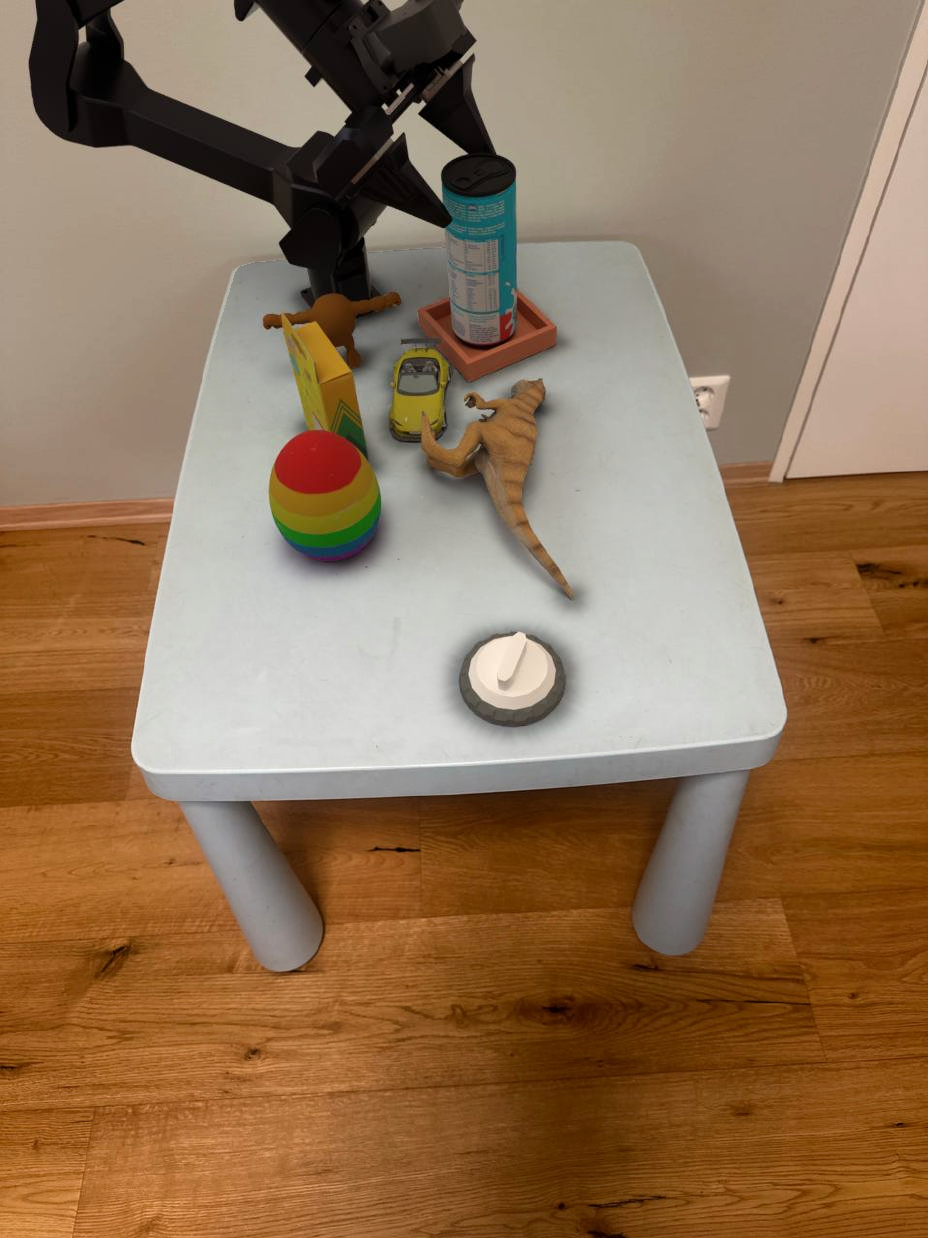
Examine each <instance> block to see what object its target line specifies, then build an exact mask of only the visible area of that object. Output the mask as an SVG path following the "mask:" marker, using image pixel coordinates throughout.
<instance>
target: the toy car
mask: <svg viewBox="0 0 928 1238" xmlns="http://www.w3.org/2000/svg"><path fill="white" fill-rule="evenodd" d="M417 344H420V345H421V344H425V347H414V348H411V349H407V350H406V351H405V349H404V350H403V351H404V353H403V355H402V356H401V357H400V358H399V359H398V360H397V361H396V362H395V363H394V364H393V369H392V370H393V373H392V379H393V381H391V382H390V386H391V387H392V388H394V389H393V390H394V391H393V402H392V405H391V407H390V410H389V413H388V414H389V415H388V426H389V428H392V430H390V432H391V435H392V436H393V437H394V438H395V439H396V440H398V441H400V442H402V441H403V442H404V441H405V442H422V411H425V412H426V414H427V416H428V418H429V421H430V424H431V427H432V428H433V430H434V432H435V440H437V439H438V438H440V437H441V436H442V435H443V433H444V429H442V428H445V427H447V424H448V423H447V422H448V419H447V412H446V409H445V406H444V400H445V399H444V398H445V389H446V386H447V384H448V382H450V381H451V379H452V371H451V365H450V364H449V362H448V361H447V360H446V359H445V358H444V357H443V355H441V353H440V352H439V351H438V349H435V348H432V347H431V348H430V347H428V345H427V344H434V345H435V344H440V345H441V338H428V337H415V338H414V337H413V338H400V346H402V345H417Z"/></svg>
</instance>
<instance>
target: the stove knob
mask: <svg viewBox="0 0 928 1238" xmlns="http://www.w3.org/2000/svg"><path fill="white" fill-rule="evenodd" d="M462 661H463V662H462V664H461V667H460V669H459V670H460V671H459V679H458V685H459V691H460V693H461V696H462V699H463V701H464V702H465V704H466V705H467V706H468V708H469V709H470V710H472V712H473V713H474V714H475V715H477V716H478V717H480V718H481V719H483V720H485V721H487V722H489V723H492V724H495V725H500V726H504V727H519V726H526V725H527V726H528V725H530V724H532V723H536V722H538V721H540V720H542V719H544V718H545V717H547V716H548V715H549V714H551V713H552V712H553V711H554V710H555V709H556V707H557V706H558V705H559V704H560V703H561V700H562V698H563V697H564V693H565V690H566V674H565V668H564V665H563V664H564V663H563V661H562V659H561V657H560V656H559V655H558V654H557V652H556V651H555V650H554V648H553V647H552V645H550V643H546V642H545V641H543V640H541V639H539V637H537V636H536V635H534V634H526V633H525V632H521V631H510V632H505V633H498V632H497V633H494V634H491V635H490V636H489V637H487V638H486V639H483V640H479V641H478V642H476V644H474V646H473V648H471V649H470V651H468V653H466V654H465V657H464V658H463V660H462Z"/></svg>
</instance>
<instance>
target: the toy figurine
mask: <svg viewBox="0 0 928 1238" xmlns="http://www.w3.org/2000/svg"><path fill="white" fill-rule="evenodd" d="M402 303H403V301H402V298H401V295H400V294H399V292H397V291H395V290H393V291H389V292H387V293H386V294H385V295H383V296H377V297H374V298H372V299H371V300H361V301H359V302H355V301H354V302H351V301H349V300H348V299H347V298H346V297H345V296H343V295H341V294H326V295H323V296H321V297H319V298H318V299H317V300H316V301H315V303H314V305H313V307H312V309H310V308H309V309H307V310H301V311H296V312H295V313H292V312H291V313H290V312H283V313H284V315H285V316H286V318H287V319H288V320H289V322H290V323H291V325H292V326H293V327H294V326H295V325H307V324H309V323H312V322H314V321H316V322H317V323H318V325H319V326H320V328H321V329H322V330H323V332H324V333H325V335H326V336H327V337H328V339H329V340H330V341H331V343H332V344H333V346H334V347H335V348H341V347H344V348H345V350H346V351H345V363H346V364H347V365H348V367H349V368H350V369H351V368H354V369H356V368H358V367H361V365H362V364H363V358H362V356H361V354H360V353H359V351H358V350H357V349H356V341H355V339H354V336H353V334H354V332H355V329H356V324H357V319H356V316H357V315H358V314H362V313H367V312H369V311H371V310H373V311H376V313H377V312H384V311H385V310H389V309H392V308H393V307H394V305H395V306H396V307H401V305H402ZM262 327H263V328H264V329H265V330H267V331H269V330H271V328H273V329H275V330H279V329H283V327H282V317H281V313H280V314H277V313H267V314H265V315H264V316H263V317H262Z"/></svg>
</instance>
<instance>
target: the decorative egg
mask: <svg viewBox="0 0 928 1238" xmlns="http://www.w3.org/2000/svg"><path fill="white" fill-rule="evenodd" d="M268 502H269V507H270V512H271V515H272V519H273V522H274V524H275V526H276V528H277V530H278V531H279V533H280V534H281V536H282V537H283V539H284V540H285V541H286V542H287V543H288V545H290V546H291V547H292V548H293V549H294V550H296V551H297V552H298V553H300V554H302V555H304V556H306V557H308V558H310V559H313V560H317V561H323V562H324V561H325V562H335V561H341V560H345V559H347V558H350V557H352V556H354V555H355V554H358V553H359V552H360V551H361V550H362V549H364V548H365V547H366V546H367V545H368V543H369V542H370V541H371V539H372V538H373V536H374V534H375V532H376V530H377V528H378V526H379V523H380V519H381V514H382V495H381V490H380V484H379V481H378V478H377V476H376V473H375V471H374V469H373V467H372V465H371V464H370V461H369V462H368V461H367V459H366V458H365V456H364V455H363V454H362V453H361V452H360V451H359V449H358V448H357V447H355V446H354V445H353V444H352V443H351V442H349V441H348V440H346V439H345V438H343V437H341V436H339V435H337V434H335V433H332V432H329V431H325V430H310V431H309V430H306V431H303V432H301V433H299V434H296V435H295V436H293V437H292V438H291V439H290V440H288V442H287V443H286V444H285V445H284V446H283V447H282V448H281V449H280V451H279V453H278V454H277V456H276V458H275V461H274V462H273V465H272V468H271V471H270V476H269V483H268Z"/></svg>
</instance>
